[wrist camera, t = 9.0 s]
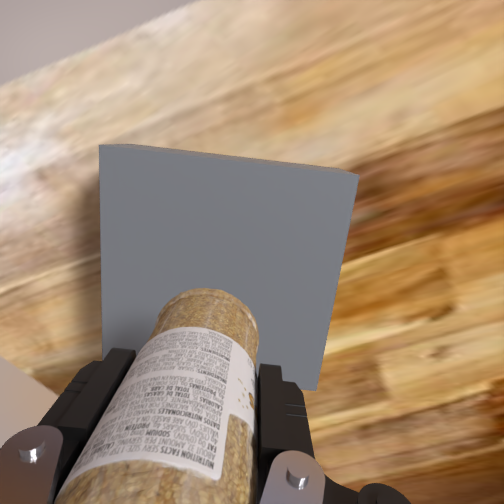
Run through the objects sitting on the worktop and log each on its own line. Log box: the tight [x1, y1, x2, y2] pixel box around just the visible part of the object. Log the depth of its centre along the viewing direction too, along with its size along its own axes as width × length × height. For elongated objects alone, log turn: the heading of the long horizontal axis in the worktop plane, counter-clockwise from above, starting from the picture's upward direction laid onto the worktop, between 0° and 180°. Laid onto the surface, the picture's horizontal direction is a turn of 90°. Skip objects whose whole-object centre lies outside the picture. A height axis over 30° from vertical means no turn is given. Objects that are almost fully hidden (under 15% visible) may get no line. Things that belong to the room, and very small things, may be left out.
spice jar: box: [54, 288, 259, 504], centre depth 9 cm, size 5×5×13 cm
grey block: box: [99, 144, 360, 391], centre depth 23 cm, size 14×14×5 cm
